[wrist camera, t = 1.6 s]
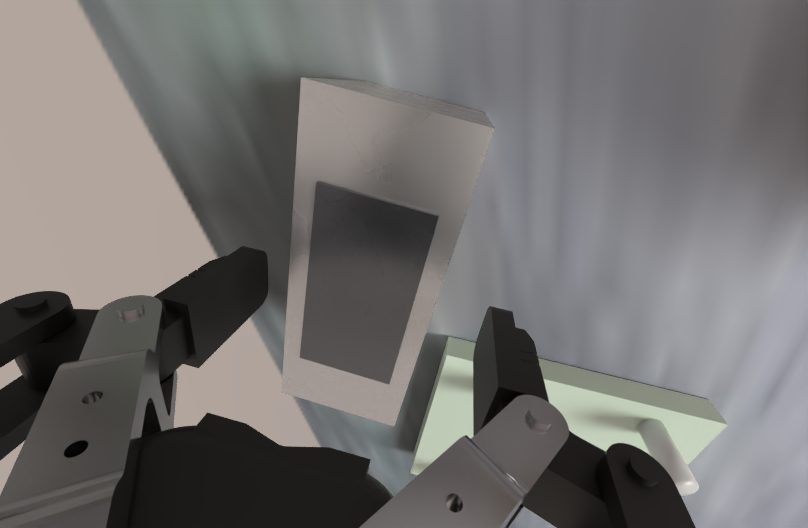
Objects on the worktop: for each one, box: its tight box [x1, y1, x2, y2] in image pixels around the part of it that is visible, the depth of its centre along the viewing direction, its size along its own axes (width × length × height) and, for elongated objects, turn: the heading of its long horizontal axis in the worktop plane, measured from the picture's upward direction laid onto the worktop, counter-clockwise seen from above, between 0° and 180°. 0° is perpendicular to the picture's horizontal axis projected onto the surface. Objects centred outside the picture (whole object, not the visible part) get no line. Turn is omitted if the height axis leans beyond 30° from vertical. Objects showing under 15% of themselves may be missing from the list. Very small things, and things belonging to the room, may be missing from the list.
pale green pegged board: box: [410, 336, 728, 495], centre depth 19 cm, size 14×11×4 cm
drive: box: [282, 77, 495, 426], centre depth 14 cm, size 12×5×6 cm, turn 167°
